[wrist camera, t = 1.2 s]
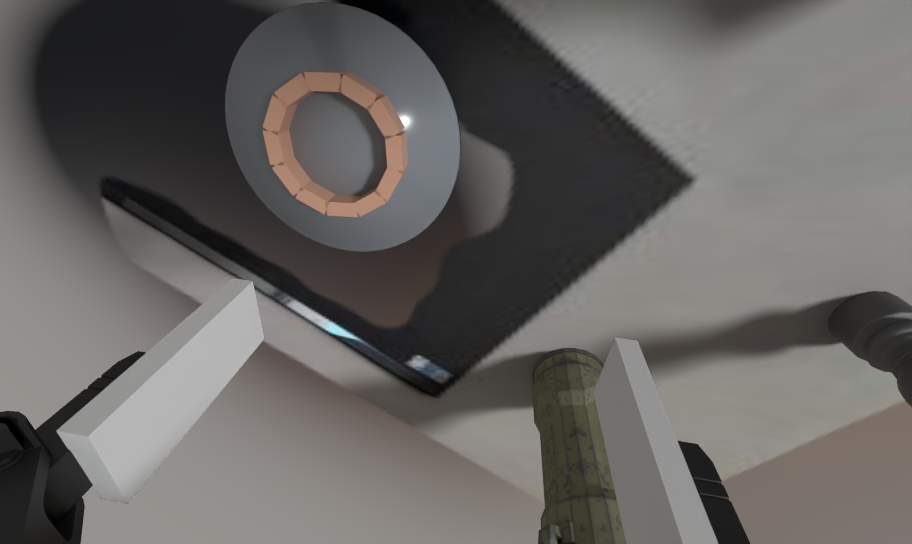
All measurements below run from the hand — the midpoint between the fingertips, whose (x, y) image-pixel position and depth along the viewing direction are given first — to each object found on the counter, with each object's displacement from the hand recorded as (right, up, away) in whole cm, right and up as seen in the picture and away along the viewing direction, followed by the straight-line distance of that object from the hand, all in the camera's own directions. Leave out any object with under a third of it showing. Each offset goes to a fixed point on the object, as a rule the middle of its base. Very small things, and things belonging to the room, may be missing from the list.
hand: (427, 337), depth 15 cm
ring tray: (-9, +15, +23) cm, 29 cm away
